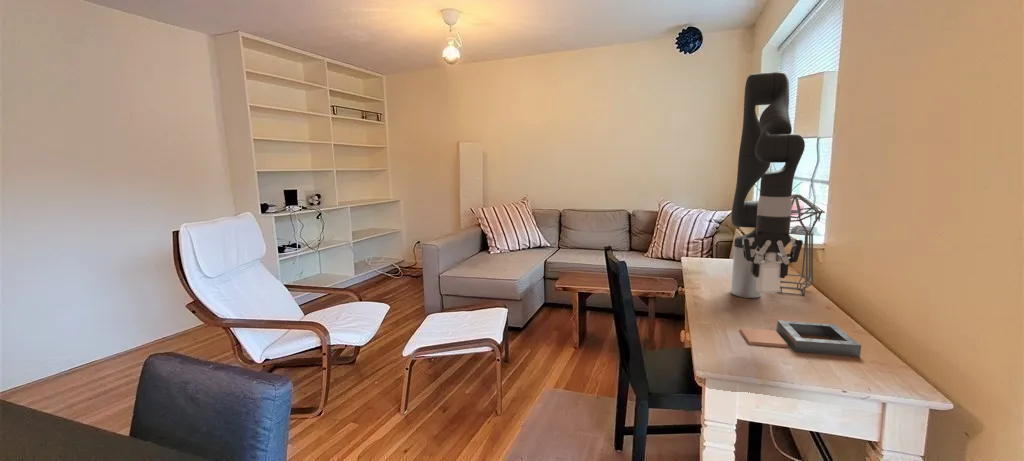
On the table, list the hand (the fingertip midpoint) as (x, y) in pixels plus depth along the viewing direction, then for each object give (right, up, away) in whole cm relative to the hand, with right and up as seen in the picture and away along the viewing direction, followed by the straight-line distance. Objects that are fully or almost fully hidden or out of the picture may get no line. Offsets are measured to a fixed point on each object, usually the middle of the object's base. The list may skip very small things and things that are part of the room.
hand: (768, 276), depth 115 cm
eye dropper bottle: (0, -4, +1) cm, 4 cm away
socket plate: (+12, -17, 0) cm, 21 cm away
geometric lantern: (+33, -10, +44) cm, 55 cm away
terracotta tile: (0, -17, +3) cm, 17 cm away
